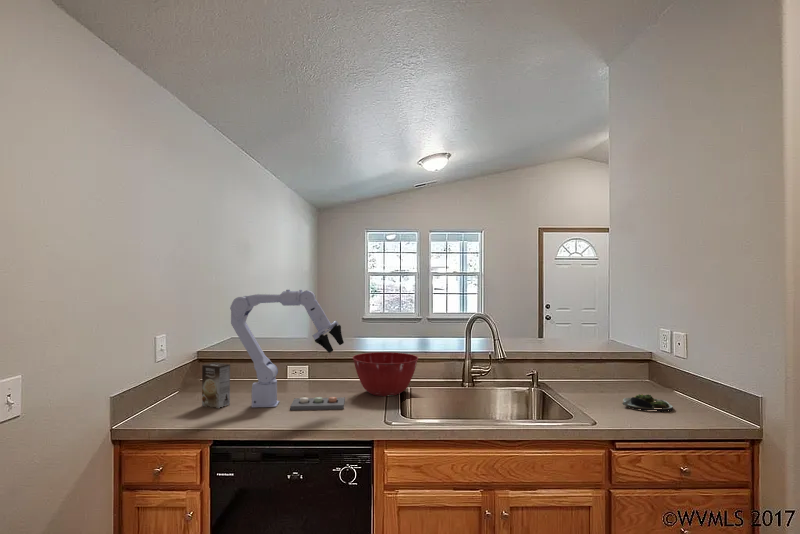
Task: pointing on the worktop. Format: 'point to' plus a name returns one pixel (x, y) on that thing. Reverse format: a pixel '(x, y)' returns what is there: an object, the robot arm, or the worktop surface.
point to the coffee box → (216, 384)
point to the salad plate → (647, 403)
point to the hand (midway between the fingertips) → (336, 347)
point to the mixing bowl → (385, 372)
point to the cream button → (304, 400)
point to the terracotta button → (332, 399)
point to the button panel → (317, 404)
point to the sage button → (318, 400)
